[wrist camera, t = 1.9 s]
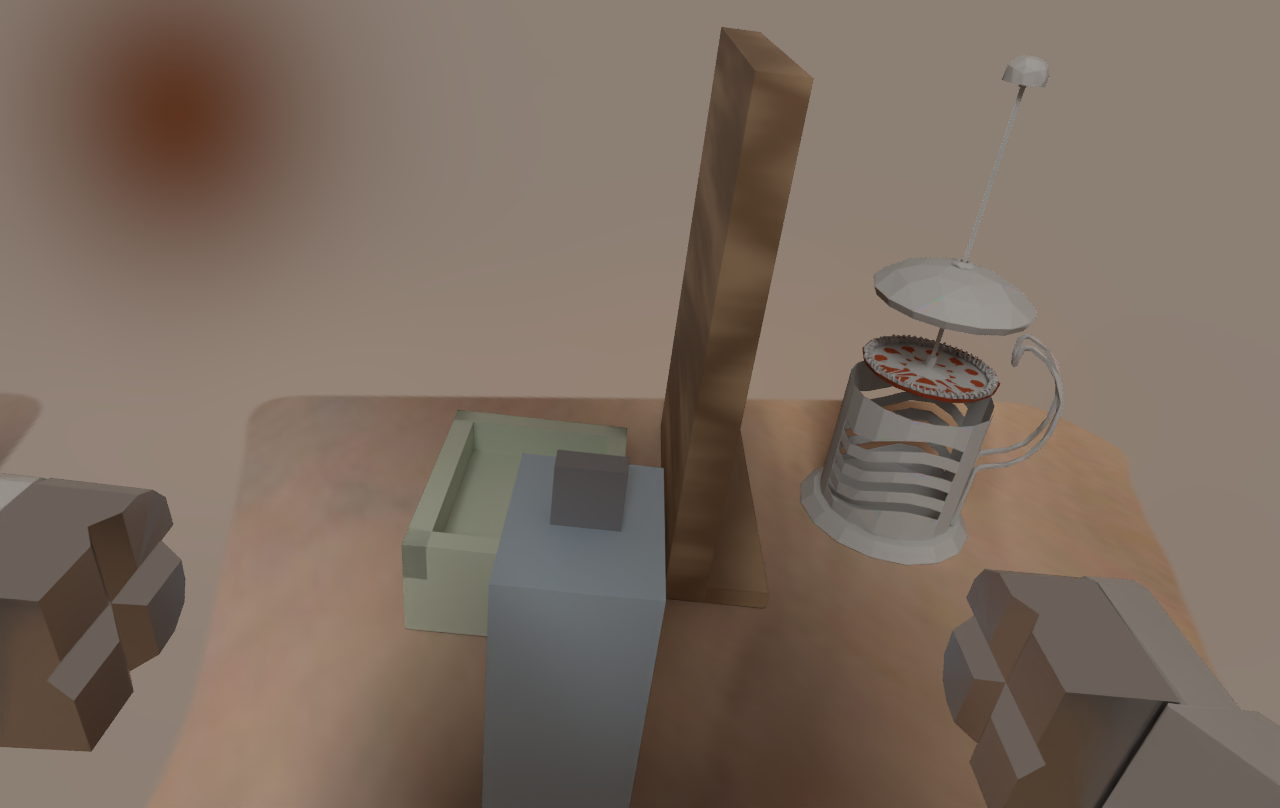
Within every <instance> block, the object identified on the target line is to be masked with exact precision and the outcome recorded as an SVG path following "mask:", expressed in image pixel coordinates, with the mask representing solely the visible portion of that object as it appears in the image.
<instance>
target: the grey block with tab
mask: <svg viewBox="0 0 1280 808" xmlns="http://www.w3.org/2000/svg"><path fill="white" fill-rule="evenodd" d="M665 604H666V573H665V515H664V468H658V467H649V466H640V465H630V464H629V457H623V456H614V455H605V454H595V453H586V452H576V451H567V450H557V455H556V457H555V456H545V455H536V454H526V453H522V457H521V461H520V465H519V469H518V472H517V476H516V480H515V484H514V488H513V492H512V496H511V500H510V503H509V507H508V511H507V515H506V519H505V523H504V527H503V531H502V534H501V538H500V542H499V546H498V550H497V554H496V558H495V562H494V565H493V569H492V573H491V577H490V581H489V590H488V622H487V654H486V686H485V718H484V751H483V783H482V808H629V806H630V800H631V795H632V789H633V784H634V778H635V772H636V767H637V761H638V756H639V750H640V744H641V739H642V733H643V728H644V722H645V716H646V711H647V705H648V700H649V694H650V688H651V683H652V677H653V672H654V666H655V660H656V655H657V649H658V644H659V638H660V632H661V627H662V621H663V616H664V610H665Z"/></svg>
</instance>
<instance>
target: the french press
mask: <svg viewBox="0 0 1280 808" xmlns="http://www.w3.org/2000/svg"><path fill="white" fill-rule="evenodd" d="M1048 78H1049V67H1048V65H1047V63H1046V62H1045V60H1042V59H1040V58H1037V57H1035V56H1018V57H1017V58H1016V59H1014V60H1013V61H1012V62H1011V63H1009V64H1008V66H1007V68H1006V71H1005V73H1004V76H1003V78H1002V80H1004V81H1006V82H1010V83H1015V84H1019V87H1020V90H1019V93H1018V96H1017V99H1016V102H1015V105H1014V108H1013V111H1012V114H1011V117H1010V120H1009V123H1008V126H1007V129H1006V132H1005V135H1004V138H1003V141H1002V144H1001V148H1000V150H999V153H998V156H997V159H996V162H995V165H994V168H993V171H992V174H991V177H990V180H989V183H988V186H987V189H986V192H985V195H984V198H983V201H982V204H981V207H980V210H979V213H978V216H977V219H976V222H975V225H974V228H973V231H972V234H971V237H970V240H969V243H968V246H967V249H966V252H965V255H964V258H963V259H961V260H958V259H953V258H914V259H908V260H905V261H902V262H899V263H896V264H893V265H890V266H887V267H884V268H882V269H881V270H880V271H878V272H877V273H875V274H874V286H875V290H876V294H877V295H878V296H879V297H880V298H881V299H882V300H883V301H884V302H885V303H887V305H889V306H890V307H892V308H894V309H896V310H898V311H899V312H901V313H903V314H905V315H907V316H909V317H911V318H913V319H916V320H919V321H922V322H925V323H928V324H931V325H934V326H937V327H940V330H939V333H938V336H937V339H936V342H935V341H934V340H931V341H930V340H929V339H926V338H925V339H923V338H922V337H920V338H917V337H916V336H914V337H911V336H910V335H908V336H907V337H906V336H905V335H903V336H899V335H897V336H895V335H892V336H890V337H889V336H887V337H886V336H884V337H880V338H875V339H873V340H871V341H870V342H868V343H867V344H866V345H865V346H864V347H863V357H864V361H862V362H859V363H857V364H856V365H855V366H854V367H853V369H852V370H851V373H850V377H849V381H848V384H847V388H846V391H845V395H844V398H843V402H842V405H841V409H840V413H839V416H838V420H837V423H836V427H835V430H834V434H833V437H832V441H831V445H830V448H829V452H828V455H827V459H826V462H825V466H823V467H820V468H818V469H815V470H813V471H812V472H811V473H810V475H809V476H808V477H807V478H806V479H805V480H804V481H803V482H802V483H801V503H802V505H803V506H804V508H805V510H806V511H807V513H808V515H809V516H810V518H811V520H812V521H813V523H815V524H816V525H817V526H818V527H820V528H821V529H822V530H823V531H824V532H826V533H827V534H828V535H829V536H831V537H832V538H833V539H834V540H836V541H837V542H839V543H841V544H843V545H845V546H847V547H849V548H852V549H854V550H856V551H858V552H860V553H862V554H864V555H867V556H869V557H872V558H876V559H881V560H886V561H890V562H895V563H900V564H904V565H913V564H934V563H939V562H941V561H943V560H946V559H948V558H950V557H952V556H954V555H956V554H958V553H959V552H960V550H961V548H962V546H963V544H964V543H965V541H966V539H967V537H968V536H967V532H966V528H965V525H964V521H963V517H962V515H961V514H960V512H961V509H962V507H963V504H964V502H965V499H966V497H967V494H968V492H969V489H970V487H971V484H972V482H973V479H974V477H975V474H976V472H978V471H981V470H984V469H993V468H1003V467H1008V466H1011V465H1013V464H1016V463H1018V462H1021V461H1023V460H1026V459H1027V458H1029V457H1030V456H1031V455H1033V454H1034V453H1035V452H1037V451H1038V450H1039V449H1041V448H1042V446H1043V445H1044V444H1045V443H1046V441H1047V440H1048V439H1049V438H1050V437H1051V435H1052V434H1053V432H1054V430H1055V427H1056V425H1057V423H1058V420H1059V418H1060V416H1061V413H1062V411H1063V397H1064V396H1063V390H1062V384H1061V378H1060V371H1059V364H1058V363H1057V361H1056V360H1055V358H1054V356H1053V355H1052V353H1051V352H1050V350H1049V349H1047V347H1045V346H1044V345H1043V344H1042V343H1041V342H1040V341H1039V340H1038V339H1037V338H1036V337H1035V336H1034V335H1030V334H1023V335H1022V336H1020V337H1019V338H1018V339H1017V341H1016V344H1015V347H1014V350H1013V353H1012V360H1011V363H1012V365H1013V367H1016V366H1017V365H1018V363H1019V360H1020V358H1021V356H1022V354H1023V353H1024V351H1031V352H1032V353H1033V354H1035V355H1036V356H1037V357H1038V358H1039V359H1041V360H1042V361H1043V362H1044V363H1045V364H1046V366H1047V367H1048V369H1049V370H1050V372H1051V374H1052V376H1053V377H1054V379H1055V384H1056V390H1055V397H1054V400H1053V402H1052V405H1051V408H1050V411H1049V413H1048V416H1047V418H1046V419H1045V420H1044V421H1043V422H1042V423H1041V425H1040V426H1039V427H1038V428H1037V429H1036V430H1035V431H1034V432H1033V433H1032V434H1031V435H1030V436H1028V437H1027V438H1026V439H1025V440H1024V441H1023V442H1020V443H1017V444H1014V445H1012V446H1009V447H1006V448H997V449H987V450H981V451H980V452H979V450H980V448H981V445H982V443H983V440H984V438H985V435H986V432H987V430H988V427H989V425H990V422H991V420H992V418H991V419H990V417H991V414H992V412H993V409H994V404H993V401H992V398H991V396H992V395H993V394H994V393H995V392H996V390H997V389H998V387H999V385H1000V383H999V380H998V378H997V376H996V374H995V372H994V371H993V370H992V368H989V365H985V363H984V362H982V360H979V359H978V357H976V356H975V357H973V356H972V354H971V355H969V354H967V353H968V352H967V351H966V352H963V351H962V349H961V350H959V349H957V347H955V348H953V347H951V345H949V346H947V345H945V344H946V343H943V344H941V343H940V341H941V337H942V335H943V332H944V329H949V330H953V331H959V332H964V333H969V334H975V335H999V336H1005V335H1009V334H1013V333H1017V332H1021V331H1024V330H1025V329H1026V328H1027V327H1029V325H1030V324H1031V323H1032V322H1033V320H1034V319H1035V318H1036V316H1037V314H1038V313H1037V312H1036V310H1035V308H1034V307H1033V305H1032V304H1031V302H1030V301H1029V299H1028V298H1027V297H1026V296H1025V295H1024V294H1023V292H1022V291H1021V290H1019V289H1018V288H1017V287H1015V286H1014V285H1012V284H1011V283H1009V282H1008V281H1006V280H1005V279H1004V278H1002V277H1001V276H999V275H998V274H997V273H995V272H994V271H992V270H991V269H988V268H985V267H982V266H978V265H975V264H972V263H971V262H969V261H967V260H968V257H969V254H970V251H971V248H972V245H973V242H974V239H975V236H976V233H977V230H978V227H979V224H980V221H981V218H982V215H983V212H984V209H985V206H986V203H987V200H988V197H989V194H990V191H991V188H992V185H993V182H994V179H995V176H996V173H997V170H998V167H999V164H1000V161H1001V158H1002V155H1003V152H1004V149H1005V146H1006V143H1007V140H1008V137H1009V134H1010V131H1011V128H1012V125H1013V122H1014V119H1015V116H1016V113H1017V110H1018V107H1019V104H1020V102H1021V99H1022V96H1023V93H1024V90H1025V88H1026V86H1032V87H1045V86H1046V83H1047V81H1048ZM1024 339H1031V340H1032V341H1033V342H1034V343H1035V344H1037V345H1038V346H1039V347H1040V348H1041V349H1043V350H1044V352H1045V353H1046V355H1047V357H1048V359H1049V360H1050V361H1049V360H1048V359H1047V358H1046V357H1045V356H1044V355H1042V354H1041V353H1040V352H1039V351H1038V350H1037V349H1036V348H1035V347H1034V346H1026V345H1025V346H1023V347H1022V348H1021V345H1022V343H1023V340H1024ZM891 386H894V387H896V388H898V389H901V390H904V391H906V392H902V393H897V394H893V395H889V396H885V397H881V398H876V399H870V400H869V399H868V398H866V397H864V396H863V395H862V393H861V392H860V391H871V390H876V389H881V388H887V387H891ZM908 400H916V401H924V402H931V403H935V404H936V405H938V406H939V407H940V408H942V409H943V410H945V411H946V412H947V413H949V414H950V415H951V416H952V417H953V418H954V420H955V421H956V423H957V424H958V425H959V427H953V426H949V424H947V423H946V422H945V421H943V420H942V419H941V418H939V417H938V416H937V415H935V414H934V413H933V412H931V411H925V410H920V409H914V408H908V409H903V410H897V411H893V412H891V411H888V410H886V409H884V408H882V406H886V405H891V404H895V403H899V402H904V401H908ZM953 403H964V404H965V405H966V406H967V408H968V410H967V413H966V415H965V417H964V416H963V415H962V414H961V412H960V411H959V410H958V408H957V407H956V406H955V405H954V404H953ZM1055 409H1056V413H1055V415H1054V417H1053V419H1052V421H1051V423H1050V425H1049V427H1048V429H1047V431H1046V433H1045V435H1044V437H1043V439H1042V440H1041V441H1039V442H1038V443H1037V444H1036V445H1035V446H1034V447H1033V448H1032V449H1031V450H1030V451H1028V452H1027V453H1026V454H1025V455H1024V456H1022V457H1020V458H1017V459H1014V460H1011V461H1009V462H1003V463H991V464H981V465H979V466H977V467H975V468H973V467H974V465H975V462H976V460H977V459H978V458H979V457H980V456H981V455H990V454H998V453H1007V452H1010V451H1012V450H1015V449H1017V448H1020V447H1023V446H1025V445H1027V444H1028V443H1029V442H1030V441H1031V440H1033V439H1034V438H1035V437H1036V436H1037V435H1038V434H1039V433H1040V432H1041V431H1042V430H1043V429H1044V428H1045V427H1046V426H1047V425H1048V423H1049V422H1050V420H1051V418H1052V416H1053V414H1054V411H1055ZM992 417H993V416H992ZM908 418H909V419H908ZM910 419H916V420H923V421H928V422H929V423H931V424H927V423H923V422H918V421H913V420H910ZM989 419H990V420H989ZM847 429H851V430H852V432H853V433H855V434H857V436H848V437H847V435H846V430H847ZM872 441H914V442H926V443H927V444H929V445H930V446H931V447H932V448H934V449H935V450H936V451H938V452H939V454H940V455H941V456H938V455H934V454H929V453H926V452H925V451H924V450H922V449H921V448H920V447H917V446H912V445H906V444H901V443H897V444H892V445H887V446H882V447H877V448H872V449H864V448H861V447H859V446H856V445H857V444H862V443H867V442H872ZM842 446H844V448H845V450H846V452H847V453H845V454H841V453H840V450H841V447H842ZM945 446H947V447H951V448H953V450H952V453H951V454H950V453H949V451H948V450H947V449H946V447H945ZM943 469H945V472H944V471H943Z"/></svg>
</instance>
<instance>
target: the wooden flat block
mask: <svg viewBox="0 0 1280 808" xmlns="http://www.w3.org/2000/svg"><path fill="white" fill-rule="evenodd" d="M813 79H814V78H813V77H811V76H810V75H809V74H808V73H807V72H806V71H804V70H803V69H802V68H801V67H800V66H799V65H798V64H796V63H795V62H794V61H793V60H792V59H790V58H789V57H788V56H787V55H786V54H785V53H784V52H783V51H781V50H780V49H779V48H778V47H777V46H776V45H774V44H773V43H772V42H771V41H770V40H769V39H768V38H766V37H765V36H764V35H763V34H762V33H761V32H755V31H747V30H740V29H732V28H725V27H722V28H721V34H720V40H719V47H718V53H717V60H716V66H715V73H714V80H713V87H712V93H711V99H710V106H709V113H708V119H707V126H706V132H705V139H704V146H703V152H702V159H701V165H700V172H699V178H698V185H697V191H696V198H695V205H694V211H693V218H692V224H691V231H690V238H689V244H688V251H687V257H686V264H685V271H684V278H683V284H682V290H681V297H680V303H679V310H678V317H677V323H676V330H675V336H674V343H673V349H672V356H671V363H670V369H669V376H668V382H667V389H666V395H665V402H664V409H663V415H662V422H661V468H664V515H665V573H666V599H676V600H687V601H697V602H707V603H717V604H727V605H737V606H747V607H757V608H765V605H766V601H767V598H768V594H769V592H768V586H767V580H766V575H765V569H764V563H763V557H762V552H761V546H760V540H759V535H758V529H757V523H756V517H755V512H754V506H753V500H752V494H751V489H750V483H749V477H748V472H747V466H746V460H745V454H744V449H743V443H742V437H741V432H740V427H741V423H742V418H743V413H744V408H745V403H746V399H747V394H748V389H749V384H750V380H751V374H752V370H753V365H754V360H755V356H756V351H757V346H758V341H759V337H760V332H761V327H762V322H763V318H764V313H765V308H766V303H767V299H768V294H769V289H770V284H771V279H772V275H773V270H774V265H775V260H776V255H777V251H778V246H779V241H780V237H781V232H782V227H783V222H784V218H785V212H786V208H787V203H788V198H789V194H790V189H791V184H792V179H793V175H794V170H795V165H796V160H797V155H798V151H799V146H800V141H801V136H802V132H803V127H804V122H805V117H806V112H807V108H808V103H809V98H810V94H811V89H812V84H813Z"/></svg>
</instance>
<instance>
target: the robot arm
mask: <svg viewBox="0 0 1280 808" xmlns="http://www.w3.org/2000/svg"><path fill="white" fill-rule="evenodd" d="M172 526H173V522H172V518H171V514H170V511H169V507H168V504H167V500H166V498H165V497H164V496H162V495H161V494H159V493H157V492H155V491H154V490H148V489H140V488H132V487H123V486H115V485H106V484H98V483H88V482H80V481H72V480H63V479H55V478H50V479H45V478H40V477H31V476H21V475H13V474H4V473H0V747H14V748H32V749H51V750H70V751H72V750H73V751H89V752H90V751H92V750H93V749H94V747H95V746H96V744H97V743H98V741H99V740H100V739H101V737H102V736H103V734H104V733H105V731H106V730H107V729H108V727H109V726H110V724H111V723H112V721H113V720H114V719H115V717H116V716H117V714H118V713H119V711H120V710H121V709H122V707H123V706H124V704H125V703H126V701H127V700H128V699H129V697H130V696H131V694H132V693H133V686H132V680H131V675H130V671H131V670H133V669H134V668H136V667H138V666H140V665H142V664H143V663H145V662H147V661H148V660H150V659H152V658H154V657H155V656H157V655H159V654H160V652H161V651H162V649H163V648H164V646H165V645H166V643H167V642H168V640H169V639H170V637H171V636H172V634H173V633H174V631H175V628H176V626H177V623H178V620H179V616H180V614H181V611H182V608H183V605H184V599H185V576H184V571H183V566H182V561H181V559H180V558H179V557H178V556H177V555H176V554H174V552H172V551H171V549H170V548H168V547H167V546H166V545H165V544H164V543H163V542H162V541H161V540H162V539H163V537H164V536H165V535H166V534H167V532H168V531H169V530H170V528H171V527H172ZM967 601H968V603H969V605H970V607H971V609H972V611H973V613H974V616H973V617H971V618H970V619H968V620H967V621H966V622H964V623H963V624H961V625H960V626H958V627H957V628H955V629H954V630H953V632H952V635H951V637H950V640H949V643H948V646H947V648H946V651H945V654H944V671H943V683H944V689H945V695H946V700H947V703H948V706H949V709H950V712H951V714H952V717H953V720H954V723H955V724H957V725H958V726H959V727H960V728H961V729H962V730H963V731H964V732H965V733H966V734H967V735H969V736H970V737H971V738H972V739H973V740H974V741H975V742H976V743H977V745H976V748H975V750H974V753H973V755H972V757H971V760H970V764H971V767H972V769H973V772H974V774H975V777H976V779H977V782H978V784H979V787H980V789H981V792H982V794H983V797H984V800H985V802H986V805H987V807H988V808H1280V726H1279V725H1277V724H1276V723H1274V722H1273V721H1271V720H1270V719H1268V718H1267V717H1265V716H1264V715H1262V714H1261V713H1259V712H1255V711H1245V710H1241V709H1240V707H1239V706H1238V705H1237V704H1236V702H1235V701H1234V700H1233V698H1232V697H1231V696H1230V695H1229V693H1228V692H1227V691H1226V689H1225V688H1224V687H1223V685H1222V684H1221V683H1220V682H1219V680H1218V679H1217V678H1216V676H1215V675H1214V674H1213V672H1212V671H1211V670H1210V669H1209V667H1208V666H1207V665H1206V663H1205V662H1204V661H1203V660H1202V658H1201V657H1200V656H1199V654H1198V653H1197V652H1196V650H1195V649H1194V648H1193V647H1192V645H1191V644H1190V643H1189V641H1188V640H1187V639H1186V638H1185V636H1184V635H1183V634H1182V632H1181V631H1180V630H1179V628H1178V627H1177V626H1176V625H1175V623H1174V622H1173V621H1172V619H1171V618H1170V617H1169V616H1168V614H1167V613H1166V612H1165V610H1164V609H1163V608H1162V606H1161V605H1160V604H1159V603H1158V601H1157V600H1156V599H1155V597H1154V596H1153V595H1152V594H1151V592H1150V591H1149V590H1148V589H1147V588H1146V587H1144V586H1142V585H1141V584H1139V583H1138V582H1136V581H1134V580H1128V579H1114V578H1100V577H1086V576H1084V577H1081V578H1079V577H1070V576H1059V575H1048V574H1036V573H1025V572H1014V571H1003V570H991V569H984V570H983V571H982V572H981V573H980V574H979V575H978V576H977V577H976V578H975V579H974V582H973V584H972V586H971V589H970V591H969V593H968V596H967Z"/></svg>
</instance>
